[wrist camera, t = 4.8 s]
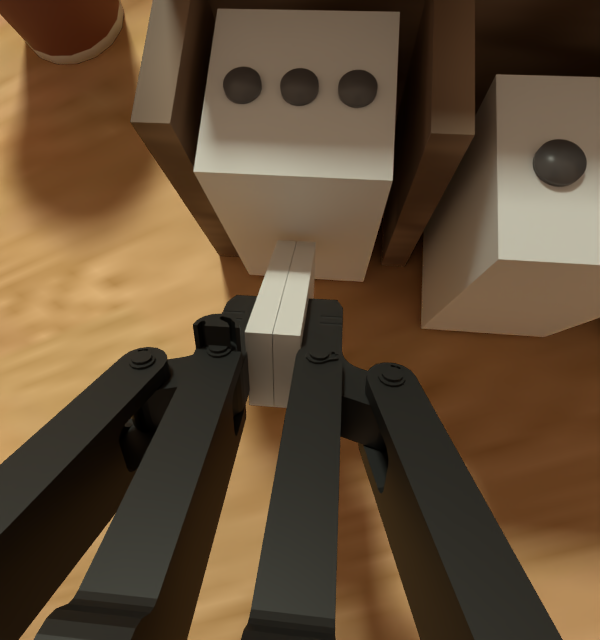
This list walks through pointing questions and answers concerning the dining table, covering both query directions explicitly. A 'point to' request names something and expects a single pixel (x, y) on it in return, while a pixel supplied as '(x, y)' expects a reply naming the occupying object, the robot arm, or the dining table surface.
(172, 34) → the brown slotted rack
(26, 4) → the coffee cup
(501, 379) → the dining table surface
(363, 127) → the key three
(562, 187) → the key two
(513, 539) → the dining table surface
